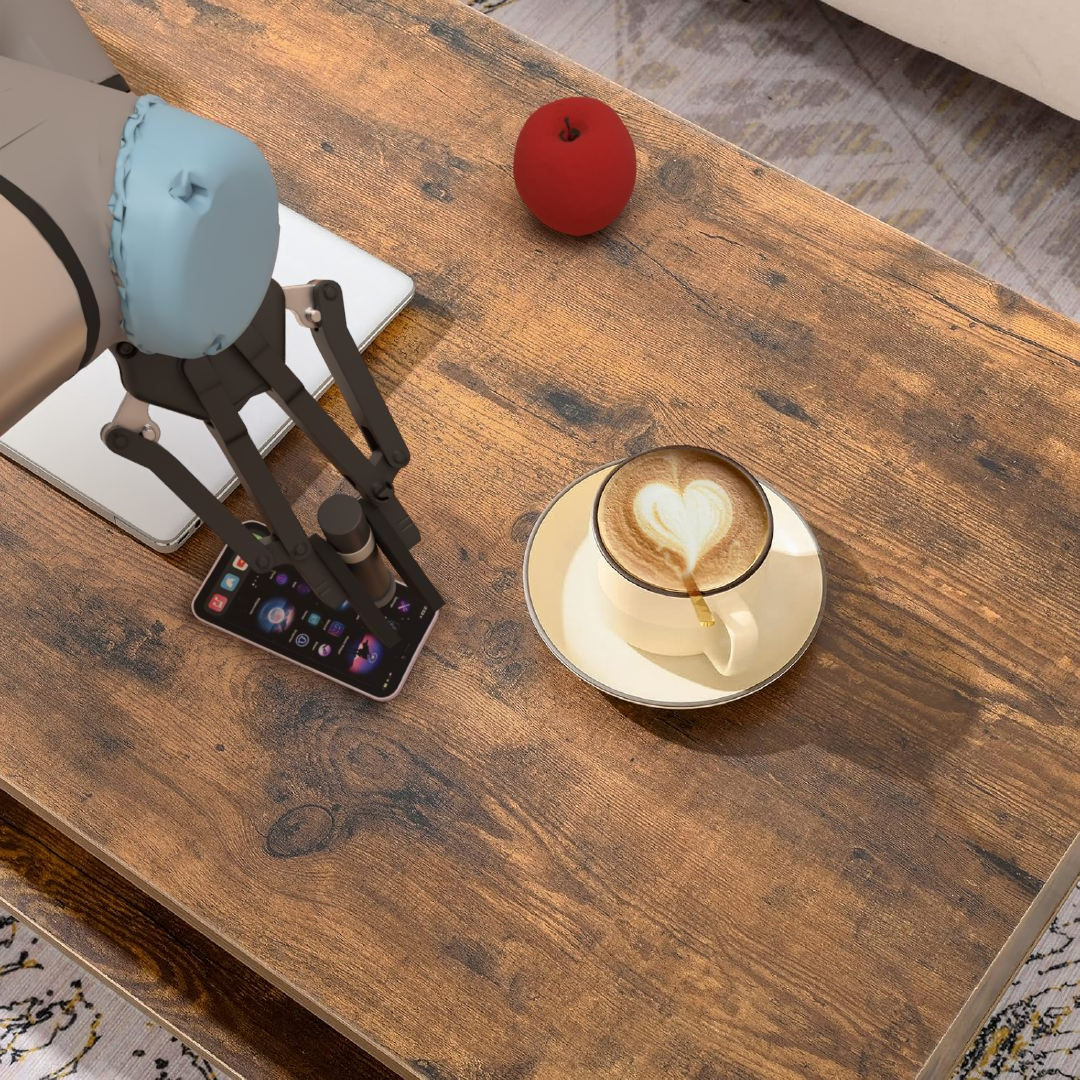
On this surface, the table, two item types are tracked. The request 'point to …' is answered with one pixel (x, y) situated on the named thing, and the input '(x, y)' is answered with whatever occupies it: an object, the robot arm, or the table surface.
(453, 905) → the table surface
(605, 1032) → the table surface
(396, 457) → the robot arm
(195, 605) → the smartphone
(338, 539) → the pepper grinder
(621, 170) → the apple
